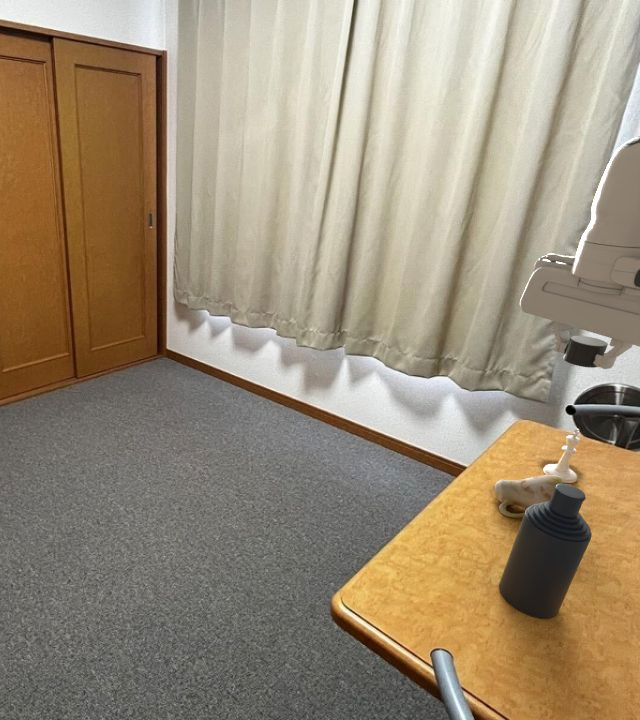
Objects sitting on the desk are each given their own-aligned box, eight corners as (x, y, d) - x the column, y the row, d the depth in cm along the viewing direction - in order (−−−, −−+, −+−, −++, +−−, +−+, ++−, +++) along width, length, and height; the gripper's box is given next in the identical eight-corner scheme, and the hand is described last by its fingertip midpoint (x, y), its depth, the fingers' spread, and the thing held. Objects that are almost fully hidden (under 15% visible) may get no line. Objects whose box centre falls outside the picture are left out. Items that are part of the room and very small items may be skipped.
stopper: (585, 369, 66) (593, 347, 65) (555, 358, 70) (563, 337, 69) (606, 365, 67) (615, 344, 66) (576, 355, 71) (584, 334, 70)
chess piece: (580, 476, 88) (599, 430, 84) (570, 486, 85) (589, 439, 81) (549, 464, 92) (565, 419, 88) (538, 473, 89) (555, 427, 85)
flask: (540, 580, 67) (583, 476, 60) (569, 622, 61) (620, 512, 54) (489, 575, 68) (525, 472, 61) (513, 615, 62) (556, 506, 55)
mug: (485, 486, 86) (531, 449, 82) (537, 528, 82) (588, 492, 78) (483, 499, 80) (531, 460, 76) (538, 545, 76) (593, 507, 72)
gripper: (523, 252, 71) (499, 338, 77) (697, 284, 53) (649, 393, 59) (555, 249, 73) (529, 333, 78) (734, 279, 55) (684, 386, 60)
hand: (582, 359), depth 69 cm, fingers closed on stopper, 4 cm apart
